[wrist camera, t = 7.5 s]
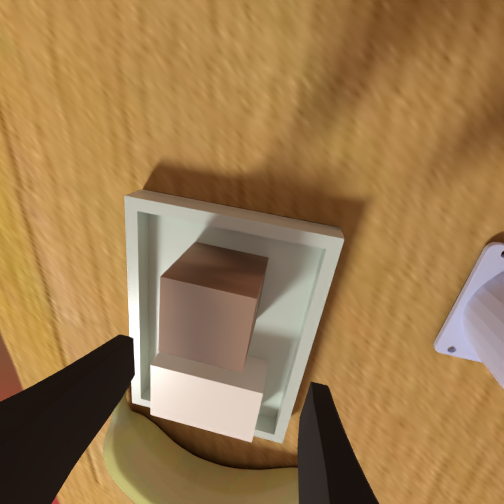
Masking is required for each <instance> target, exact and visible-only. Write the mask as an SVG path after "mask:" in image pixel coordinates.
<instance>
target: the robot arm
mask: <svg viewBox="0 0 504 504" xmlns="http://www.w3.org/2000/svg"><path fill="white" fill-rule="evenodd" d="M503 251H504V243H501V242H491V243H489V244H487V245H486V246H485V248H484V249H483V251H482V253H481V255H480V257H479V259H478V260H477V262H476V264H475V266H474V268H473V270H472V272H471V274H470V276H469V277H468V279H467V281H466V283H465V285H464V287H463V289H462V291H461V293H460V294H459V296H458V298H457V300H456V302H455V304H454V306H453V308H452V309H451V311H450V313H449V315H448V317H447V319H446V321H445V323H444V325H443V326H442V328H441V330H440V332H439V334H438V336H437V338H436V340H435V342H434V348H435V349H436V351H437V352H439V353H443V354H447V355H451V356H456V357H460V358H465V359H469V360H473V361H478V362H482V363H484V364H485V366H486V367H487V368H488V370H489V371H490V372H491V374H492V375H493V376H494V378H495V379H496V380H497V381H498V383H499V384H500V385H501V387H502V388H503V389H504V255H502V256H501V253H502V252H503ZM451 346H453V347H452V348H450V349H448V348H449V347H451ZM134 376H135V360H134V338H132V337H128V336H124V335H118V336H116V337H114V338H113V339H111V340H110V341H108V342H106V343H105V344H103V345H101V346H100V347H98V348H97V349H95V350H93V351H92V352H90V353H89V354H87V355H85V356H84V357H82V358H80V359H79V360H77V361H75V362H74V363H72V364H70V365H69V366H67V367H65V368H64V369H62V370H60V371H58V372H57V373H55V374H53V375H51V376H49V377H47V378H46V379H44V380H42V381H40V382H38V383H37V384H35V385H33V386H31V387H29V388H27V389H25V390H23V391H21V392H20V393H17V394H15V395H13V396H11V397H9V398H7V399H5V400H3V401H1V402H0V504H52V502H53V500H54V499H55V497H56V495H57V494H58V492H59V490H60V489H61V487H62V485H63V484H64V482H65V480H66V479H67V477H68V475H69V474H70V472H71V470H72V469H73V467H74V466H75V464H76V463H77V461H78V460H79V458H80V457H81V455H82V454H83V453H84V451H85V450H86V448H87V447H88V446H89V444H90V443H91V441H92V440H93V439H94V437H95V436H96V434H97V433H98V432H99V430H100V429H101V428H102V426H103V425H104V423H105V422H106V421H107V419H108V418H109V416H110V415H111V413H112V412H113V411H114V409H115V408H116V406H117V405H118V404H119V402H120V401H121V399H122V397H123V396H124V394H125V392H126V390H127V389H128V387H129V385H130V383H131V381H132V379H133V378H134ZM298 491H299V504H379V502H378V501H377V499H376V497H375V495H374V493H373V491H372V489H371V487H370V485H369V483H368V481H367V479H366V477H365V475H364V473H363V471H362V469H361V467H360V465H359V463H358V460H357V458H356V456H355V454H354V452H353V449H352V447H351V445H350V442H349V440H348V438H347V435H346V433H345V430H344V428H343V425H342V423H341V420H340V418H339V415H338V412H337V410H336V407H335V404H334V401H333V398H332V395H331V392H330V389H329V387H328V386H327V385H323V384H319V383H315V382H311V383H310V387H309V390H308V393H307V396H306V399H305V403H304V406H303V409H302V412H301V415H300V421H299V434H298Z"/></svg>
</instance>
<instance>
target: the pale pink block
mask: <svg viewBox="0 0 504 504" xmlns="http://www.w3.org/2000/svg"><path fill="white" fill-rule="evenodd" d="M267 366H268V361H267V360H262V359H258V358H254V357H250V356H247V358H246V362H245V366H244V369H243V373H240V372H236V371H232V370H228V369H224V368H220V367H216V366H212V365H209V364H205V363H201V362H197V361H193V360H189V359H185V358H181V357H178V356H174V355H170V354H166V353H162V352H159V353H158V354H157V356H156V357H155V359H154V361H153V362H152V364H151V398H150V415H153V416H157V417H160V418H164V419H168V420H171V421H175V422H179V423H182V424H186V425H189V426H193V427H197V428H200V429H204V430H208V431H211V432H215V433H219V434H222V435H226V436H230V437H233V438H237V439H241V440H244V441H248V442H252V439H253V435H254V431H255V426H256V422H257V418H258V413H259V409H260V405H261V401H262V396H263V391H264V385H265V379H266V373H267Z"/></svg>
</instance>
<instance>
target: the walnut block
mask: <svg viewBox="0 0 504 504" xmlns="http://www.w3.org/2000/svg"><path fill="white" fill-rule="evenodd" d="M268 260H269V258H268V257H264V256H259V255H255V254H250V253H245V252H241V251H236V250H231V249H227V248H222V247H218V246H213V245H208V244H204V243H199V242H194V243H193V244H192V245H191V246H190V247H189V248H188V249H187V250H186V251H185V252H184V253H183V254H182V255H181V256H180V257H179V258H178V259H177V260H176V261H175V262H174V263H173V264H172V265H171V266H170V267H169V268H168V269H167V270H166V271H165V272H164V273H163V274H162V275H161V276H160V305H159V342H158V352H162V353H166V354H170V355H174V356H178V357H181V358H185V359H189V360H193V361H197V362H201V363H205V364H209V365H212V366H216V367H220V368H224V369H228V370H232V371H236V372H240V373H243V369H244V366H245V362H246V358H247V354H248V350H249V346H250V342H251V339H252V335H253V331H254V327H255V323H256V319H257V314H258V309H259V304H260V299H261V294H262V289H263V284H264V279H265V275H266V270H267V265H268Z"/></svg>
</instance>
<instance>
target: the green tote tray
mask: <svg viewBox="0 0 504 504" xmlns="http://www.w3.org/2000/svg"><path fill="white" fill-rule="evenodd" d="M124 198H125V225H126V252H127V279H128V306H129V333H130V337H132V338H134V360H135V376H134V378H133V379H132V381H131V386H132V403H135V404H138V405H142V406H146V407H149V408H150V398H151V364H152V362H153V361H154V359H155V357H156V356H157V354H158V353H159V352H158V342H159V305H160V276H161V275H162V274H163V273H164V272H165V271H166V270H167V269H168V268H169V267H170V266H171V265H172V264H173V263H174V262H175V261H176V260H177V259H178V258H179V257H180V256H181V255H182V254H183V253H184V252H185V251H186V250H187V249H188V248H189V247H190V246H191V245H192V244H193V243H194V242H199V243H204V244H208V245H213V246H218V247H222V248H227V249H231V250H236V251H241V252H245V253H250V254H255V255H259V256H264V257H268V258H269V260H268V265H267V270H266V275H265V279H264V284H263V289H262V294H261V299H260V304H259V309H258V314H257V319H256V323H255V327H254V331H253V335H252V339H251V342H250V346H249V350H248V354H247V356H250V357H254V358H258V359H262V360H267V361H268V366H267V373H266V379H265V385H264V391H263V396H262V401H261V405H260V409H259V413H258V418H257V422H256V426H255V431H254V435H253V436H256V437H260V438H264V439H267V440H271V441H275V442H278V443H283V440H284V436H285V433H286V430H287V427H288V423H289V420H290V417H291V413H292V410H293V407H294V404H295V400H296V397H297V394H298V390H299V387H300V384H301V381H302V377H303V374H304V371H305V367H306V364H307V361H308V358H309V354H310V351H311V348H312V344H313V341H314V338H315V335H316V331H317V328H318V325H319V321H320V318H321V315H322V312H323V308H324V305H325V302H326V298H327V295H328V292H329V289H330V285H331V282H332V279H333V275H334V272H335V269H336V266H337V262H338V259H339V256H340V252H341V249H342V246H343V243H344V236H343V233H342V230H341V228H339V227H334V226H329V225H324V224H319V223H313V222H308V221H303V220H298V219H293V218H288V217H282V216H277V215H272V214H267V213H262V212H257V211H251V210H246V209H241V208H236V207H231V206H226V205H220V204H215V203H210V202H205V201H200V200H195V199H189V198H184V197H179V196H174V195H169V194H164V193H158V192H153V191H148V190H143V189H141V190H139V191H136V192H133V193H130V194H127V195H125V196H124Z"/></svg>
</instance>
